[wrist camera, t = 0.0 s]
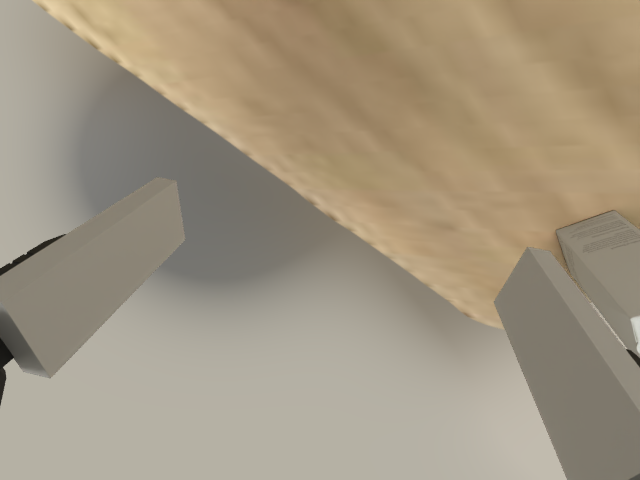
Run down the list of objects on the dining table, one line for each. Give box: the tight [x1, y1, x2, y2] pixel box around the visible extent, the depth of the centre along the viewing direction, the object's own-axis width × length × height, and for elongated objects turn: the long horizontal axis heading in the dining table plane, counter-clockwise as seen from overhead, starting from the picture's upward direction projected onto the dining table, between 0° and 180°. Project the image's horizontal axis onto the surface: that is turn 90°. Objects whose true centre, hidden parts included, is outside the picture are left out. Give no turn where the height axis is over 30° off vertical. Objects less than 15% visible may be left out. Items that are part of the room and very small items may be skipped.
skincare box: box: [556, 211, 640, 358], centre depth 33 cm, size 8×7×16 cm
